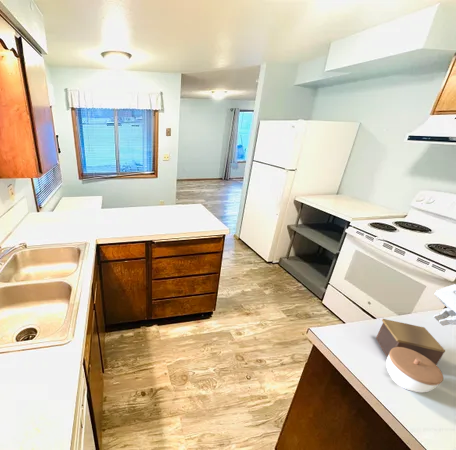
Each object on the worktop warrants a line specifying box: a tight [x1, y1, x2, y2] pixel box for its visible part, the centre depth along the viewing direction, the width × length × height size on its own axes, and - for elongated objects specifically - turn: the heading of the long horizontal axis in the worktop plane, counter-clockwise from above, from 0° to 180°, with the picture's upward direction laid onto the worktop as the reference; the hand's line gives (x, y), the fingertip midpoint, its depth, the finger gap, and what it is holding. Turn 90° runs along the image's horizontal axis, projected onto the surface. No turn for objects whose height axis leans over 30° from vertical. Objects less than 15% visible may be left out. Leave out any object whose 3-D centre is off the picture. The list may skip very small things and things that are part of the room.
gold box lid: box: [381, 318, 446, 353], centre depth 76 cm, size 11×10×1 cm
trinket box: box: [385, 347, 444, 393], centre depth 69 cm, size 11×11×9 cm
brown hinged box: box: [375, 322, 445, 366], centre depth 78 cm, size 11×10×8 cm
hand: (437, 320), depth 73 cm, fingers closed
